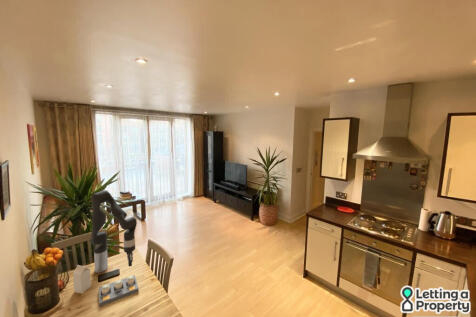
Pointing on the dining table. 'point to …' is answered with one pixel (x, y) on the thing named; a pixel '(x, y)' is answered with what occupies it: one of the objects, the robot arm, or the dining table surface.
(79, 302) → the dining table surface
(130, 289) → the button board
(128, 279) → the button
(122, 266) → the dining table surface
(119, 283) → the button
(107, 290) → the button
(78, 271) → the milk carton
